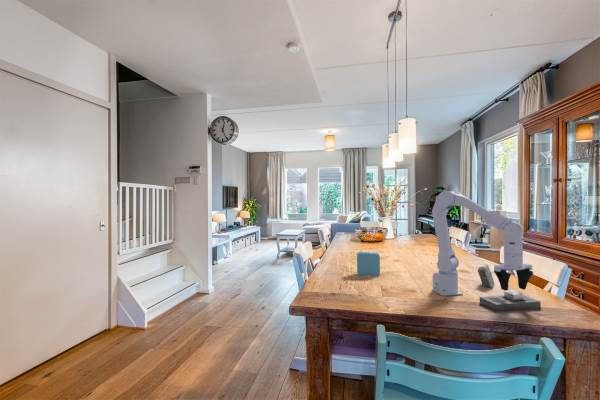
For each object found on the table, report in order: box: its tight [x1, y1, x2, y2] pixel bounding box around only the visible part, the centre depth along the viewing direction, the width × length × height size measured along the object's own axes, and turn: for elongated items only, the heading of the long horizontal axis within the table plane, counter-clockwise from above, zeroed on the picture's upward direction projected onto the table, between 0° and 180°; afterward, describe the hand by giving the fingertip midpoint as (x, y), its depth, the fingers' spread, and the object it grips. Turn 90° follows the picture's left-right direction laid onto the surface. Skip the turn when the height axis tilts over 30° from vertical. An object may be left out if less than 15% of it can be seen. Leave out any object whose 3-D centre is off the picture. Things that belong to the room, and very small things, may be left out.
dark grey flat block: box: [479, 294, 542, 312], centre depth 105 cm, size 18×8×3 cm, turn 98°
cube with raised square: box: [503, 290, 523, 302], centre depth 105 cm, size 4×4×5 cm
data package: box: [356, 251, 381, 277], centre depth 152 cm, size 12×4×12 cm, turn 77°
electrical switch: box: [477, 263, 495, 289], centre depth 131 cm, size 9×5×9 cm, turn 141°
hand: (513, 289), depth 105 cm, fingers open, 7 cm apart
